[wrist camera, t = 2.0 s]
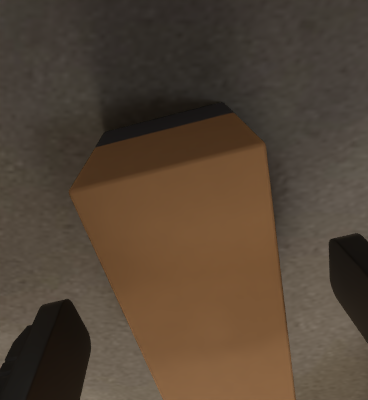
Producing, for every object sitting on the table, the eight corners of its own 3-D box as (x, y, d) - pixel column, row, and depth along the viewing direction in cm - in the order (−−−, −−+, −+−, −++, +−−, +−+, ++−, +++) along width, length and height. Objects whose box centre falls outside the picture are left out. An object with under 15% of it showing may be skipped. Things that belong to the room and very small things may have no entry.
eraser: (172, 321, 14) (176, 431, 10) (103, 132, 10) (66, 191, 6) (258, 302, 14) (297, 406, 10) (223, 100, 10) (266, 142, 6)
